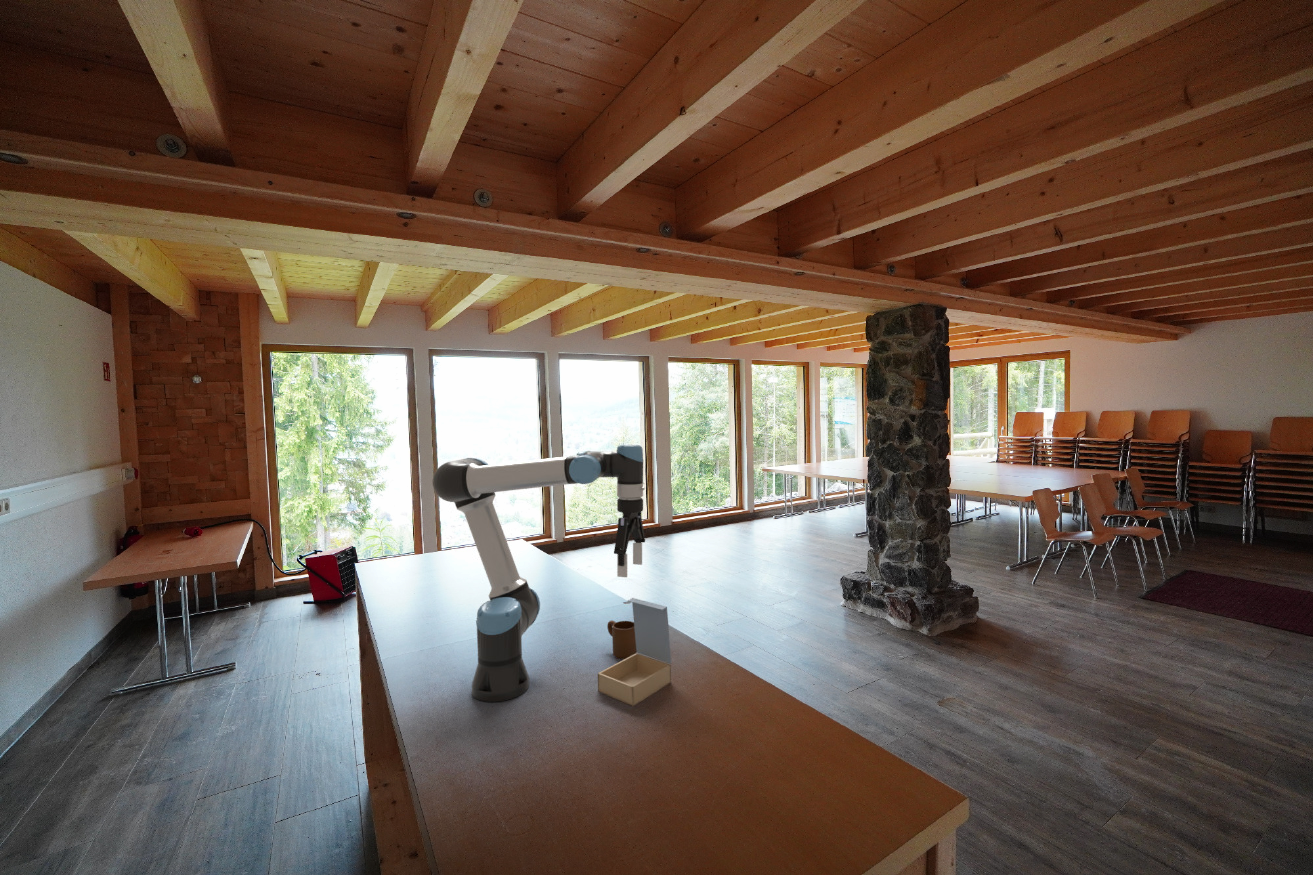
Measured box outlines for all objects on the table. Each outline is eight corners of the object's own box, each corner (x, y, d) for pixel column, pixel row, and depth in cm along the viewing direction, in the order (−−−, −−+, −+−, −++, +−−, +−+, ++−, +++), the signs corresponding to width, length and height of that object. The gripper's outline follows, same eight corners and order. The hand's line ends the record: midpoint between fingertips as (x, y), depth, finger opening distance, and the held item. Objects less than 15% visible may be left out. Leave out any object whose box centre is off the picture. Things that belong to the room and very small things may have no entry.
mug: (599, 650, 175) (598, 621, 175) (617, 643, 180) (617, 615, 180) (623, 662, 166) (622, 631, 166) (642, 654, 172) (641, 624, 171)
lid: (662, 609, 150) (666, 606, 151) (627, 600, 158) (632, 597, 159) (666, 666, 152) (671, 663, 153) (632, 655, 160) (637, 651, 161)
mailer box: (633, 706, 141) (632, 687, 141) (597, 691, 149) (597, 673, 149) (670, 682, 153) (670, 664, 153) (636, 669, 161) (636, 653, 161)
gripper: (628, 505, 147) (628, 583, 148) (654, 492, 171) (654, 560, 171) (602, 503, 149) (602, 581, 150) (631, 491, 173) (631, 558, 174)
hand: (630, 570), depth 161 cm, fingers open, 13 cm apart
